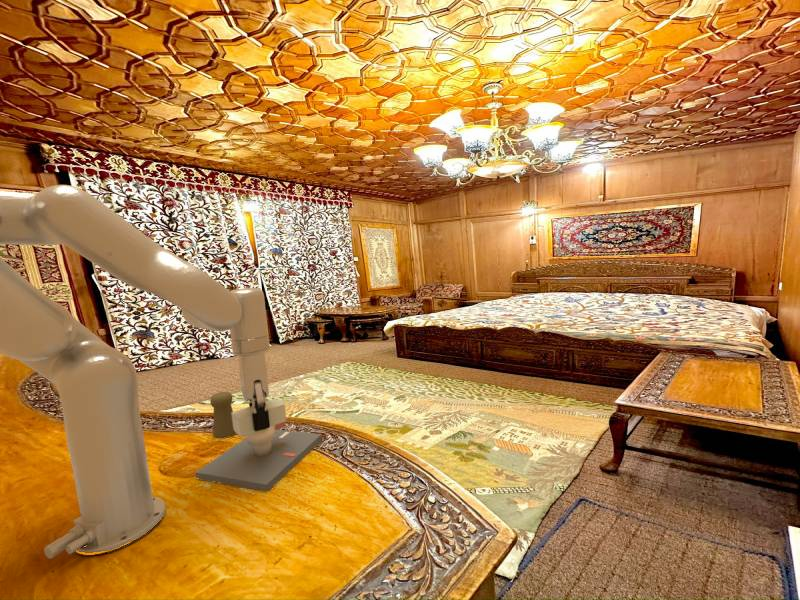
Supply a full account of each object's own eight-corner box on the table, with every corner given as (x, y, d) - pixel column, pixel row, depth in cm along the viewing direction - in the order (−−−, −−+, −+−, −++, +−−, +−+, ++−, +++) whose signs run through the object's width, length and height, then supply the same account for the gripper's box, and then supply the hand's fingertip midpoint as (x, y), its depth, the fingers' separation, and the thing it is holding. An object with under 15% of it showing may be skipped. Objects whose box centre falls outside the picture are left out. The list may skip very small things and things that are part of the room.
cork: (219, 441, 90) (214, 399, 89) (208, 435, 94) (203, 395, 93) (242, 431, 95) (237, 391, 94) (231, 425, 98) (226, 387, 97)
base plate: (267, 491, 68) (264, 469, 68) (196, 479, 74) (193, 458, 74) (322, 440, 87) (320, 422, 87) (261, 433, 93) (259, 416, 92)
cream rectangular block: (243, 451, 75) (239, 419, 74) (234, 441, 79) (230, 411, 78) (290, 433, 81) (287, 403, 81) (280, 425, 86) (277, 397, 85)
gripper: (230, 341, 83) (239, 414, 86) (234, 356, 68) (245, 444, 70) (263, 336, 87) (271, 406, 89) (275, 349, 72) (284, 434, 74)
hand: (260, 422), depth 80 cm, fingers closed on cream rectangular block, 5 cm apart
